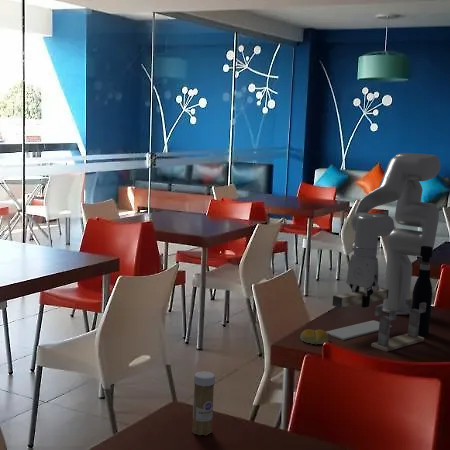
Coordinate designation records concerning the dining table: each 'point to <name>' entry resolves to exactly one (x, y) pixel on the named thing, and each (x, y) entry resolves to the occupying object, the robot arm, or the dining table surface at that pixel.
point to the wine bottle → (423, 291)
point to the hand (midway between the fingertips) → (360, 305)
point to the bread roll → (314, 336)
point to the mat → (355, 330)
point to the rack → (402, 340)
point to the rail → (358, 298)
